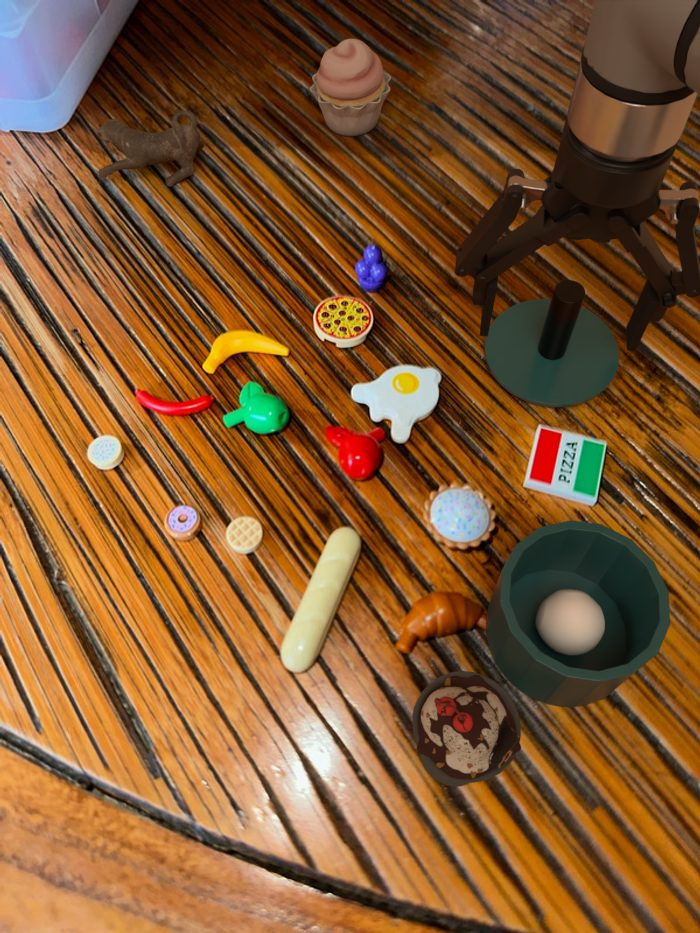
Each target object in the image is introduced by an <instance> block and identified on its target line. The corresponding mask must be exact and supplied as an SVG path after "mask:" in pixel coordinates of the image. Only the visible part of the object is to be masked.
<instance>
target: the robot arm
mask: <svg viewBox="0 0 700 933" xmlns="http://www.w3.org/2000/svg"><path fill="white" fill-rule="evenodd" d="M591 12H592V13H591V17H590V20H589V25H588V26H589V27H588V30H587V34H586V38H585V41H584V45H583V49H582V51H581V52H582V53H581V57H580V62H579V65H578V69H577V74H576V77H575V81H574V86H573V89H572V93H571V97H570V101H569V104H568V108H567V113H566V117H567V118H566V120H565V121H564V125H563V129H562V132H561V136H560V140H559V146H558V148H557V154H556V157H555V162H554V166H553V170H552V171H551V173H550V174H549V175H548V176H547V177H546V178H545V179H544V180H539V179H533V178H532V179H530V178H526V177H525V173H524V171H523V170H522V169H521V168H513V169H511V170H510V171H509V172H508V173H507V176H506V179H505V184H504V187H503V190H502V192H501V194H499V196H498V197H497V199H496V200H495V201H494V202H493V203H492V205H491V206H490V207H489V209H487V211H486V212H485V213H484V215H483V216H482V217H481V219H480V220H479V221H478V222H477V224H476V225H475V226H474V228H472V230H471V231H470V233H469V234H468V235H467V236H466V237H465V239H464V240H463V241H462V243H460V244H459V246H458V247H457V249H456V258H455V266H454V274H455V275H456V276H457V277H460V278H465V277H467V276H469V277H471V278H472V279H473V287H472V295H471V302H472V305H473V306H482V309H481V313H480V314H481V315H480V326H479V336H480V337H486V336H487V337H488V333H489V328H490V326H491V322H492V316H493V313H494V312H493V311H494V307H495V301H496V296H497V291H498V285H499V284H498V283H499V277H500V276H501V275H502V274H504V273H505V272H506V271H508V270H510V269H511V268H513V267H514V266H515V265H517V264H518V263H520V262H522V261H523V260H524V259H526V258H528V257H529V256H530V255H532V254H534V253H535V252H536V251H538V250H540V249H541V248H542V247H544V246H546V247H550V246H553V245H554V244H555V243H557V242H559V240H561V239H563V238H564V237H567V238H568V240H569V241H583V240H584V241H585V240H591V241H594V242H598V243H605V244H610V242H611V241H612V240H618V241H619V242H620V244H621V245H622V247H623V249H624V250H625V251H626V253H627V254H631V256H632V258H633V259H634V260H635V262H636V263H637V265H638V266H639V268H640V269H641V271H642V273H643V274H644V275H645V277H646V280H645V283H644V286H643V288H642V290H641V292H640V294H639V297H638V299H637V302H636V304H635V305H634V308H633V310H632V313H631V315H630V318H629V320H628V322H627V324H626V326H625V334H626V335H625V338H626V351H629V352H636V351H637V348H638V346H639V345H640V343H641V341H642V338H643V336H644V334H645V332H646V330H647V328H648V326H649V324H650V322H655V323H658V322H660V321H661V320H663V318H664V317H665V315H666V313H667V311H668V309H672V308H674V307H675V306H676V305H677V302H678V300H677V297H678V296H680V295H686V297H687V298H691V299H692V298H697V297H699V296H700V258H699V251H698V243H697V238H696V232H695V231H696V230H695V224H696V222H697V219H698V216H699V213H700V201H699V189H698V188H699V187H698V184H697V183H696V182H695V181H691V180H690V181H686V182H684V183H682V184H681V185H680V187H679V188H678V189H661V187H662V185H663V181H664V179H665V177H666V174H667V171H668V170H669V167H670V164H671V162H672V159H673V157H674V155H675V152H676V150H677V146H678V141H679V140H680V138H682V135H683V133H684V130H685V127H686V125H687V122H688V120H689V118H690V115H691V112H692V109H693V107H694V104H695V102H696V99H697V97H698V96H700V0H594V3H593V8H592V11H591ZM535 201H541V204H542V205H541V206H539V208H538V209H537V210H536V212H535V214H534V215H533V216H531V217H530V218H529V219H527V220H525V221H524V222H523V223H521V224H519V226H517V227H516V228H514V229H512V231H510V232H509V233H507V234H506V235H505V236H503V235H504V233H506V231H507V230H508V229H509V228H510V227H511V226H512V224H513V223H514V222H515V220H516V218H517V217H518V214H519V213H525V212H526V211H527V209H528V208H529V207H530V206H531V204H532V203H533V202H535ZM659 210H661V211H663V212H664V213H665V218H666V219H667V220H668V221H669V222H670V224H671V225H674V229H675V230H674V231H675V240H676V244H677V245H676V247H677V251H678V258H679V263H680V269H681V270H680V271H675V270H674V268H673V267H672V265H671V263H670V262H669V260H668V259H667V256H666V255H665V254H664V252H663V250H662V249H661V248H660V246H659V244H658V243H657V241H656V239H655V238H654V236H653V234H652V233H651V231H650V230H649V228H648V227H647V225H646V223H645V221H646V220H648V219H649V218H651V217H652V216H654V215H655V214H657V212H658V211H659ZM502 236H503V237H502ZM501 237H502V238H501Z"/></svg>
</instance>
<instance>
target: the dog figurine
mask: <svg viewBox="0 0 700 933" xmlns="http://www.w3.org/2000/svg"><path fill="white" fill-rule="evenodd" d="M180 117H187V119H189V122H190V123H189V124H187V125H186V124H180V123H179V121H178V120H179V119H180ZM171 125H172V127H170V128H168V129H167V130H163V131H159V132H150V131H144V130H139V129H134V128H132V127H129V126H127V124H126V123H124V122H121V120H120V118H118V117H115V118H111V119H108V120H107V121H105V122H104V123H103V124H102V125H101V126H100V127H99V128H97V134H98V135H101V136H100V138H101V140H102V141H104V142H106V143H110V144H111V145H112V146H113V147H115V149H116V150H117V151H118V152H120V153H122V154H124V156H125V157H126V158H124V159H120V160H117V161H114V162H113V163H110V164H108V165H105V166H103V167H102V168H99V170H98V174H97V178H99V179H102V180H104V179H107V177H108V176H112V175H113V174H114V173H116V172H118V171H122V170H137V169H143V168H146V167H147V166H153V165H161V164H162V165H163V164H168V163H171V162H174V161H176V162H177V163H179V164H180V166H181V168H180V169H178V170H177V171H175V172H174V173H172V174H171V175H169V176H167V178H166V179H165V185H166V186H167V187H173V186H174V185H176V184H177V183H180V182H182V181H184V180H185V179H187V178H188V177H191V176H193V175H194V174H195V166H194V160H195V159H196V158H197V155H198V154H199V153H201V151H202V150H203V149H204V148H205V145H206V144H205V142H204V141H203V140H201V133H200V131H199V130H198V129H197V127H198V119H197V117H196V115H195V114H194V113H193V112H192V111H190V110H183V109H182V110H177V111H176V112H175V113H174V114H173V115H172V118H171Z"/></svg>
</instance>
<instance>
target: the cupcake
mask: <svg viewBox="0 0 700 933" xmlns="http://www.w3.org/2000/svg"><path fill="white" fill-rule="evenodd" d="M391 78H392V76H391V75H390V74H389V73H387V72H384V66H383V64H382V61H381V58H380V57H379V56H378V55H377V54H376V53H375V52H374V51H373V50H371V48H370V47H369V46H368V45H367V44H366V43H365V42H363V41H362V40H360V39H357V38H345V39H344V40H342V41H341V42H339V43H338V44H337V45H336V46H333V47H331V48H328V49H327V50H326V51H325V52H324V53H323V56H322V58H321V59H320V64H319V68H318V70H317V72H316V73H314V74H313V75H312V76H311V79H312V82H313V84H312V85H311V86H310V88H309V91H310V93H311V94H312V95H313V97H314V98H315V100H316V101H317V102H318V105H319V108H320V110H321V112H322V116H323V119H324V122H325V124H326V126H327V127H328V128H329V129H330V130H331V131H332V132H333V133H335V134H337V135H340V136H343V137H357V136H363V135H365V134H367V133H369V132H371V131H372V130H374V129H375V127H376V126H377V125H378V122H379V120H380V116H381V112H382V108H383V106H384V103H385V101H386V99H387V97H388V95H389V94H390V92H391V87H390V85H389V83H390V81H391Z"/></svg>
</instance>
